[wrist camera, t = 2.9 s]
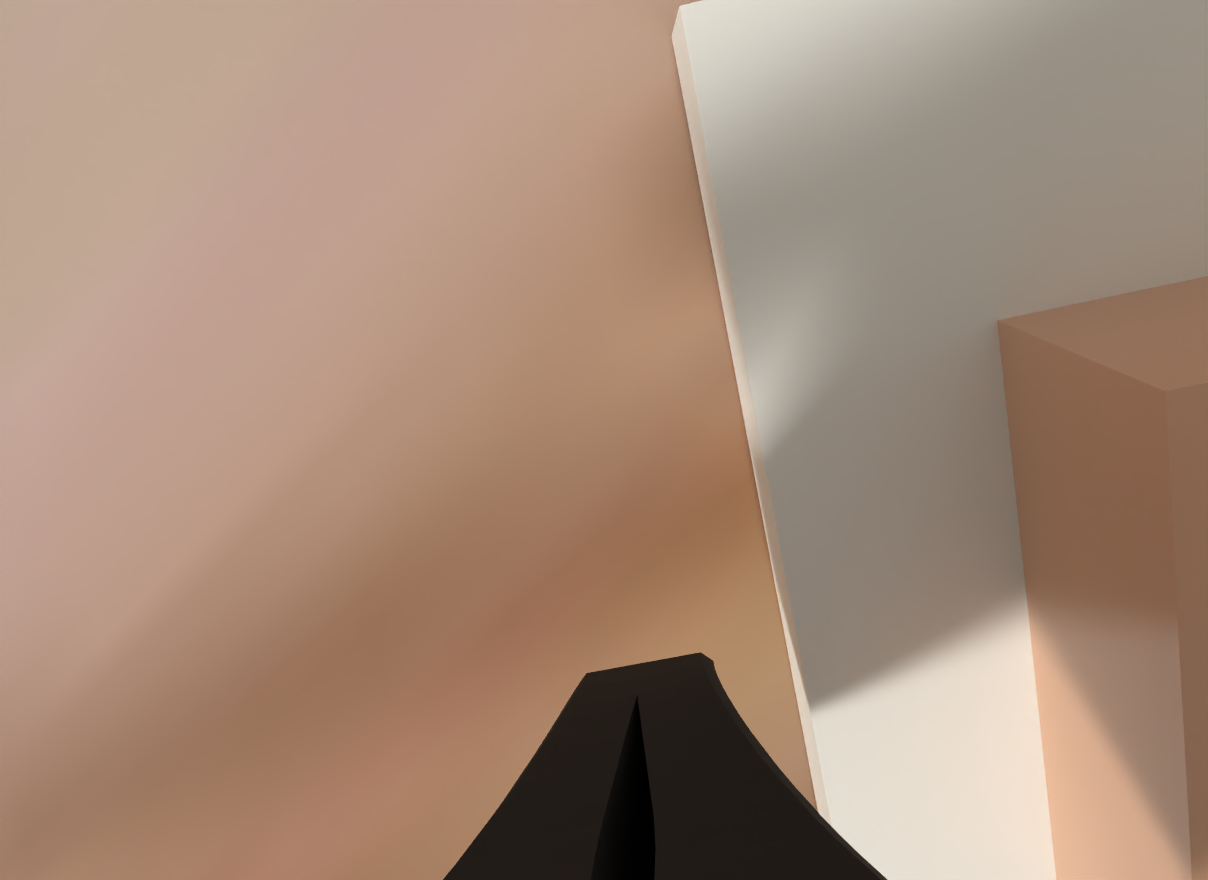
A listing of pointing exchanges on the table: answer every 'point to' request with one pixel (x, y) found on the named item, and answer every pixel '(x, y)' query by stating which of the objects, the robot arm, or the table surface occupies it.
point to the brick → (1117, 572)
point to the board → (925, 354)
